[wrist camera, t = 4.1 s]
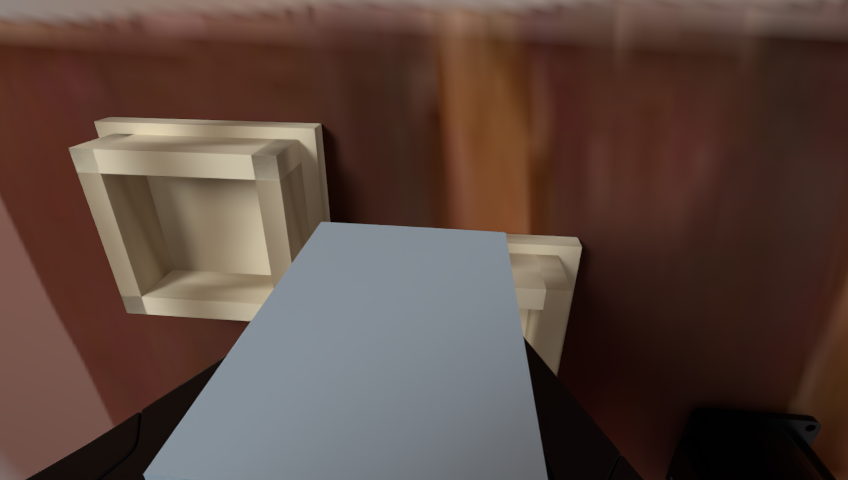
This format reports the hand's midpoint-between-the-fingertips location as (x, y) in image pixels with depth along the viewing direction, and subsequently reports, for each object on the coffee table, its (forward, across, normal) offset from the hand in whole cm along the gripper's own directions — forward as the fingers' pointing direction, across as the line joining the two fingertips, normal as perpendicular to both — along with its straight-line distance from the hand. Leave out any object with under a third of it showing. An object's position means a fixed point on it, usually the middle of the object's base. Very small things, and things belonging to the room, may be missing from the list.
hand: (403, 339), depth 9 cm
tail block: (+1, 0, 0) cm, 1 cm away
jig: (+12, -1, +11) cm, 17 cm away
